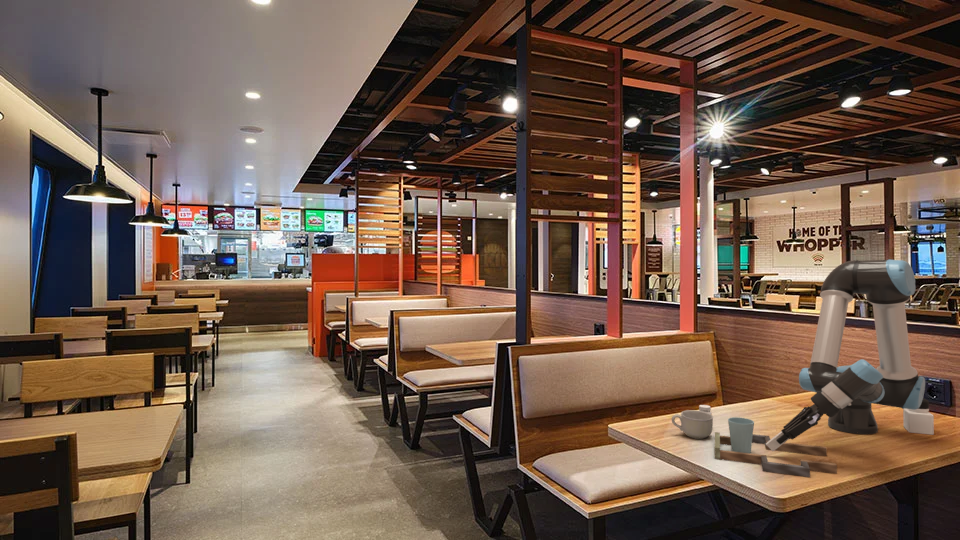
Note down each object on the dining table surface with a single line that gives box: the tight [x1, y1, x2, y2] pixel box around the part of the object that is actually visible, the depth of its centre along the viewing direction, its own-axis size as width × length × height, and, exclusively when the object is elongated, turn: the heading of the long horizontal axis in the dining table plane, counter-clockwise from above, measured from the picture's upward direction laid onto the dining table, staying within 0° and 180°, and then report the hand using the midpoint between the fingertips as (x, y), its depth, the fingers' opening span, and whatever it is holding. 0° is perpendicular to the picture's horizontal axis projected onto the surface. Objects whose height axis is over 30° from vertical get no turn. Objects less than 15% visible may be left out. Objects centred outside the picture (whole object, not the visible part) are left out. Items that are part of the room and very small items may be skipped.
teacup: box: [671, 409, 714, 440], centre depth 189 cm, size 14×11×8 cm
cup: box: [727, 416, 755, 454], centre depth 172 cm, size 8×8×10 cm
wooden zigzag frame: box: [714, 431, 838, 478], centre depth 168 cm, size 32×28×4 cm
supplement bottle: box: [698, 404, 713, 416], centre depth 198 cm, size 5×5×8 cm
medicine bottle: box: [902, 397, 935, 436], centre depth 191 cm, size 7×7×12 cm
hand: (769, 447), depth 168 cm, fingers closed
